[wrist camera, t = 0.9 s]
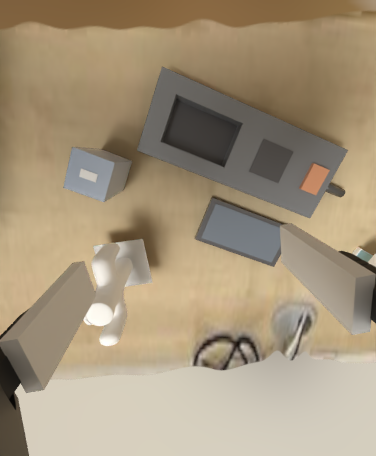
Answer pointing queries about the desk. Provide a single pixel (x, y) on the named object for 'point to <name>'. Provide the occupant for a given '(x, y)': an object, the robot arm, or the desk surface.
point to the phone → (240, 232)
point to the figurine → (115, 285)
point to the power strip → (238, 145)
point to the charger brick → (96, 173)
